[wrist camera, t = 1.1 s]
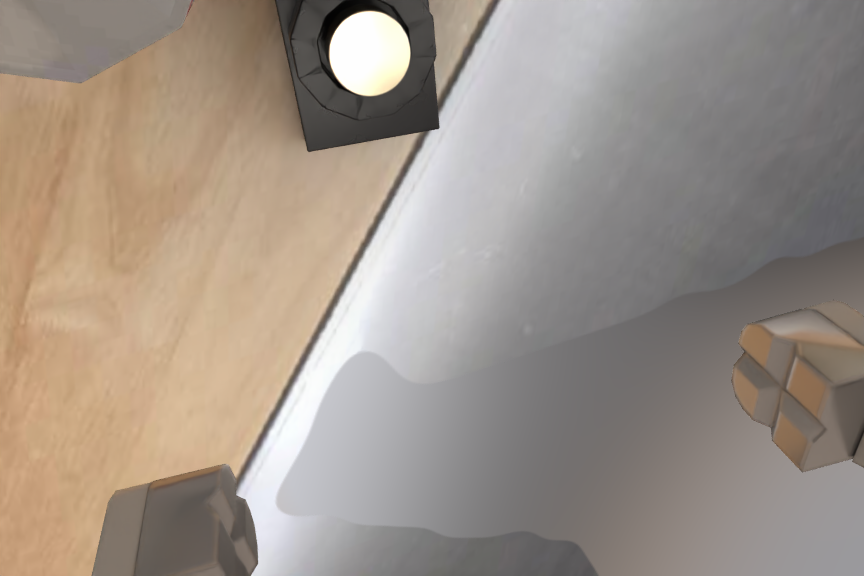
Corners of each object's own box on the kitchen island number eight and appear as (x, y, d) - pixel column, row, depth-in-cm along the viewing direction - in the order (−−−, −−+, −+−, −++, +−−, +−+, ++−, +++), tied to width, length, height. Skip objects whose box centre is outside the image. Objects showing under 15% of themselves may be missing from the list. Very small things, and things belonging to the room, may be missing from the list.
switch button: (332, 92, 29) (336, 103, 28) (317, 9, 27) (321, 16, 26) (407, 79, 30) (415, 89, 28) (398, -2, 28) (405, 4, 26)
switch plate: (305, 141, 33) (310, 165, 30) (259, -74, 28) (260, -69, 25) (432, 119, 34) (448, 140, 32) (412, -93, 29) (430, -90, 26)
